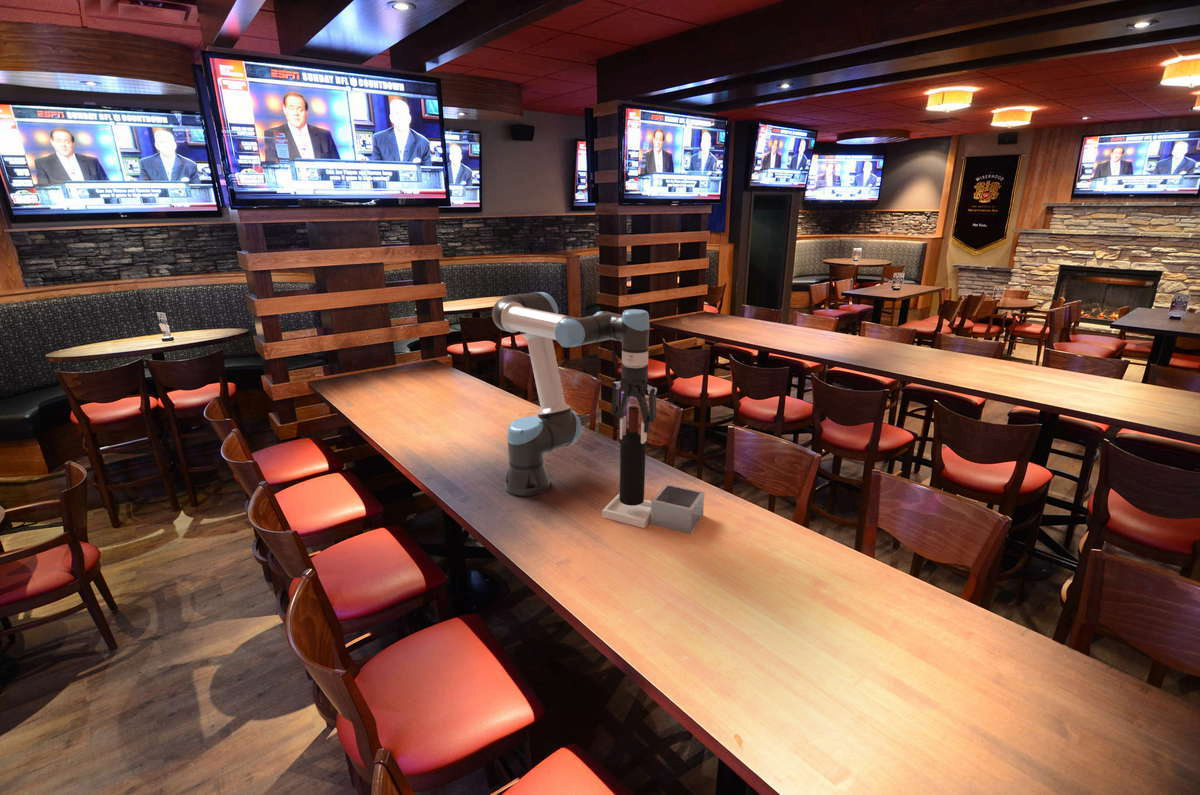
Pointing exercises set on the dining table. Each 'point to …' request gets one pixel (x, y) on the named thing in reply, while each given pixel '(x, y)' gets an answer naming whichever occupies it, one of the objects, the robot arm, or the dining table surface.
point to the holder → (677, 508)
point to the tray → (628, 512)
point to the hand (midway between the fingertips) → (633, 439)
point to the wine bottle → (632, 463)
